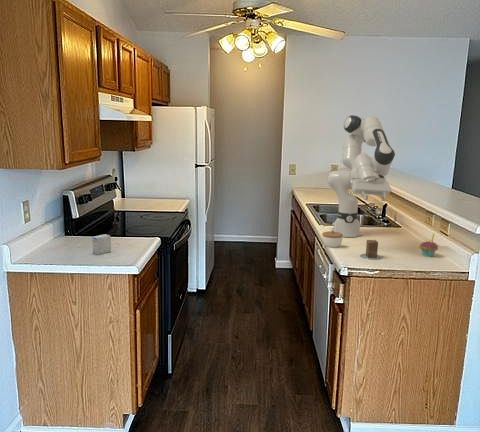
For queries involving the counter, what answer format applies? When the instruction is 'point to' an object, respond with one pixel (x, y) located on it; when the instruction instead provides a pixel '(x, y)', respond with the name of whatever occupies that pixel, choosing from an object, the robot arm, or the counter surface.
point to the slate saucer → (371, 258)
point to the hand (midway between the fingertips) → (375, 199)
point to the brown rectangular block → (371, 248)
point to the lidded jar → (332, 239)
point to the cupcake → (429, 248)
